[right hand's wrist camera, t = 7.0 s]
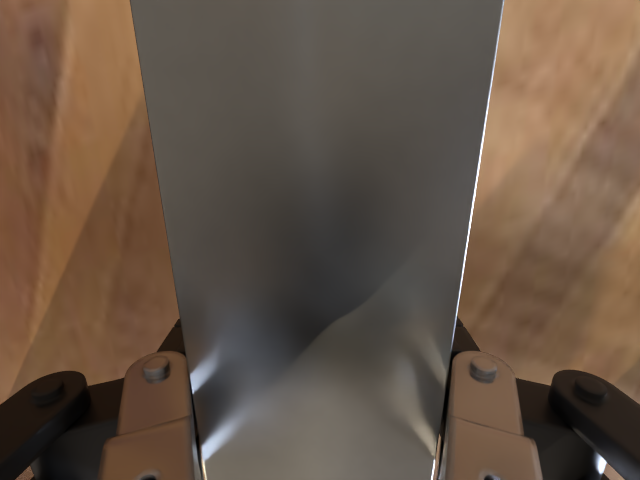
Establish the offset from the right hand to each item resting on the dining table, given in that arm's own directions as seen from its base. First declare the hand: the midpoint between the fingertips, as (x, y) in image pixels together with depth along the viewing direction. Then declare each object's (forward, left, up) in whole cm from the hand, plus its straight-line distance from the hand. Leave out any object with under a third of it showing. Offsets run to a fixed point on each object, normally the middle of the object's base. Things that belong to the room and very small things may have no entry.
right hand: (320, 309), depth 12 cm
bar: (+9, 0, -4) cm, 10 cm away
